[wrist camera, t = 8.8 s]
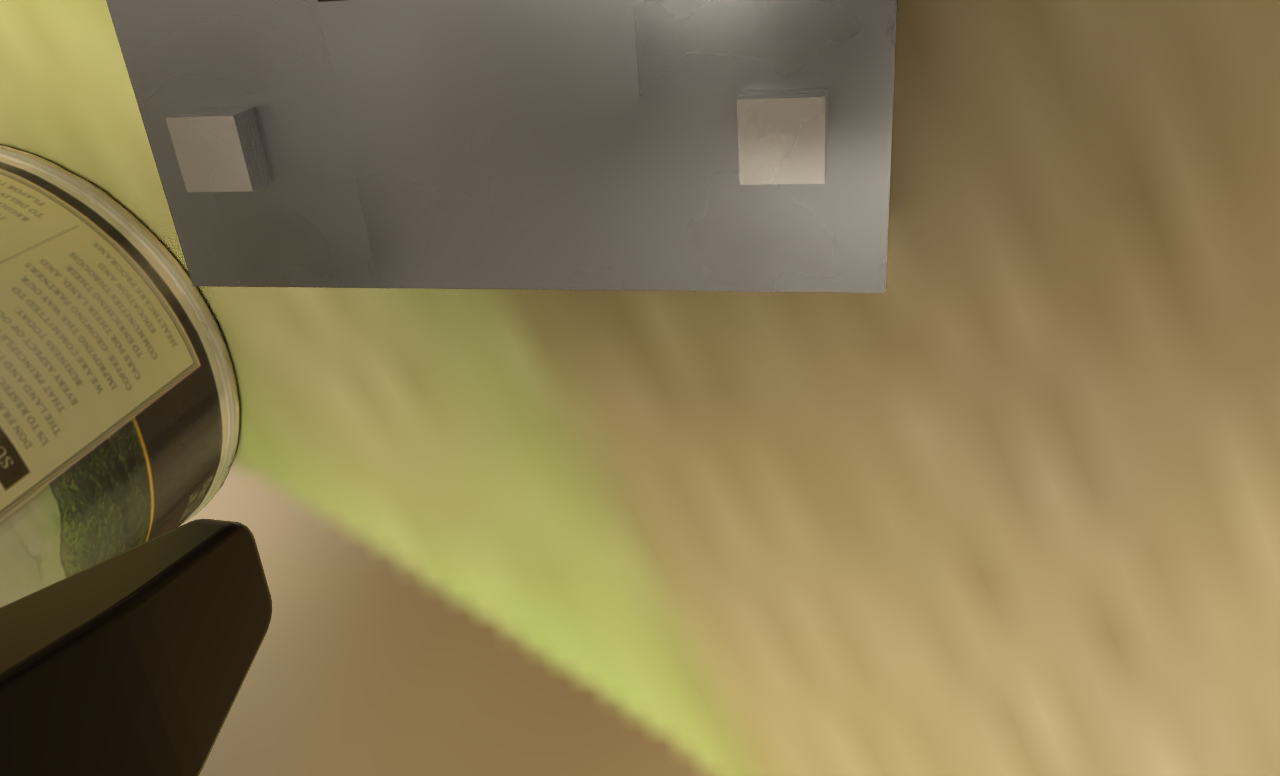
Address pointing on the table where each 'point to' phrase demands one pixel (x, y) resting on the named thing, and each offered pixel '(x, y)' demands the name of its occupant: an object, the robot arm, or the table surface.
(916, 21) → the table surface
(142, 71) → the rosette plate
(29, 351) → the coffee can
